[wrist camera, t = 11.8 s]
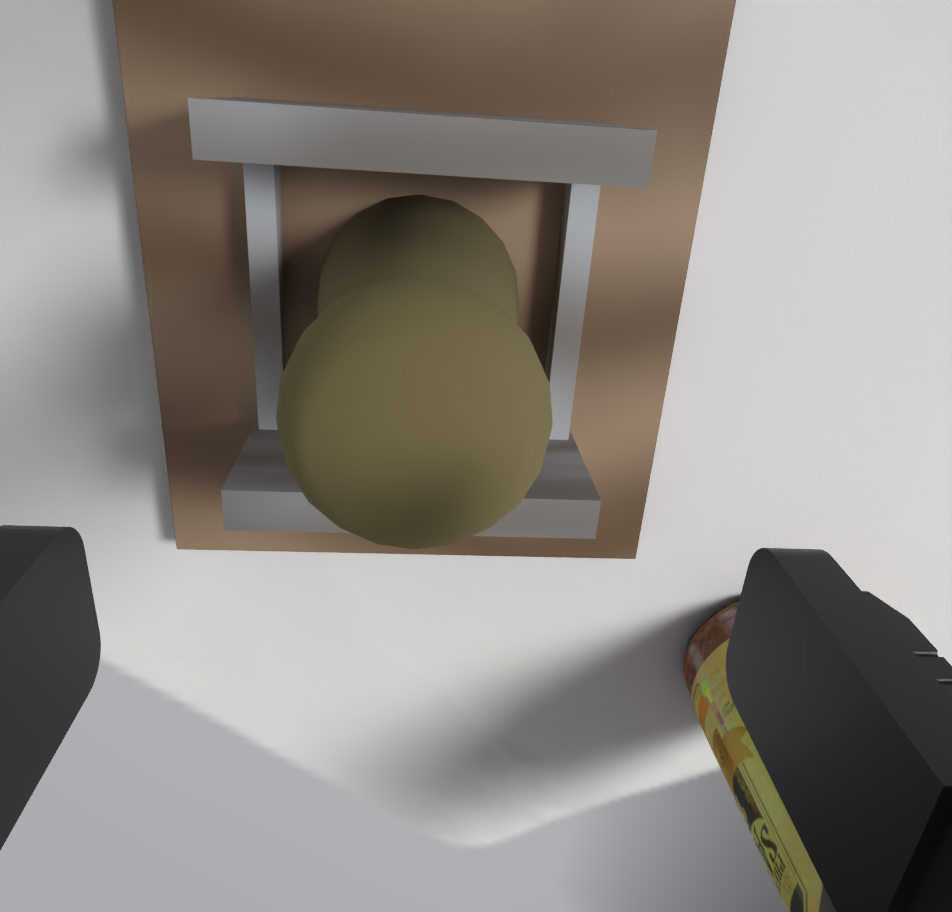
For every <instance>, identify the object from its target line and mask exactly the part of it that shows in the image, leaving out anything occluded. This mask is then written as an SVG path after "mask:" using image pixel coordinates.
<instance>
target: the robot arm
mask: <svg viewBox="0 0 952 912" xmlns="http://www.w3.org/2000/svg"><path fill="white" fill-rule="evenodd" d="M100 649H101V642H100V632H99V626H98V621H97V615H96V610H95V604H94V599H93V593H92V588H91V582H90V577H89V571H88V566H87V560H86V555H85V549H84V545H83V541H82V538H81V536H80V534H79V533H78V532H77V530H76V529H74V528H72V527H49V526H14V525H3V526H0V850H1V848H2V846H3V845H4V843H5V841H6V839H7V838H8V836H9V834H10V832H11V830H12V829H13V827H14V825H15V823H16V822H17V820H18V818H19V816H20V815H21V813H22V811H23V809H24V807H25V806H26V804H27V802H28V800H29V798H30V797H31V795H32V793H33V791H34V790H35V788H36V786H37V784H38V783H39V781H40V779H41V777H42V776H43V774H44V772H45V770H46V768H47V767H48V765H49V763H50V761H51V760H52V758H53V756H54V754H55V753H56V751H57V749H58V747H59V745H60V744H61V742H62V740H63V739H64V737H65V735H66V733H67V731H68V730H69V728H70V726H71V724H72V723H73V721H74V719H75V717H76V716H77V714H78V712H79V710H80V708H81V706H82V705H83V703H84V701H85V700H86V698H87V696H88V694H89V692H90V690H91V688H92V686H93V684H94V681H95V678H96V675H97V671H98V666H99V660H100ZM726 677H727V683H728V688H729V692H730V695H731V698H732V700H733V703H734V705H735V707H736V709H737V711H738V713H739V715H740V717H741V719H742V721H743V723H744V725H745V727H746V729H747V731H748V733H749V735H750V737H751V739H752V741H753V743H754V745H755V747H756V749H757V751H758V753H759V756H760V758H761V760H762V762H763V764H764V766H765V768H766V770H767V772H768V774H769V776H770V778H771V780H772V782H773V784H774V786H775V788H776V790H777V792H778V794H779V796H780V798H781V800H782V802H783V804H784V806H785V808H786V810H787V812H788V814H789V816H790V819H791V821H792V823H793V825H794V827H795V829H796V831H797V833H798V835H799V837H800V839H801V841H802V843H803V845H804V847H805V849H806V851H807V853H808V855H809V857H810V859H811V861H812V863H813V865H814V867H815V869H816V871H817V873H818V875H819V877H820V879H821V881H822V884H823V886H824V888H825V890H826V892H827V894H828V896H829V898H830V900H831V902H832V904H833V906H834V908H835V910H836V912H952V666H951V665H950V664H949V663H948V662H947V661H946V659H945V658H944V657H938V655H937V649H936V648H935V647H934V646H933V645H932V644H931V643H930V642H929V641H928V639H927V638H926V637H925V636H924V635H923V634H922V633H921V632H920V631H919V629H918V628H917V627H916V626H915V625H914V624H913V623H912V622H911V621H910V619H908V618H907V617H905V616H904V615H902V614H901V613H899V612H898V611H896V610H895V609H893V608H892V607H890V606H889V605H887V604H886V603H885V602H883V601H882V600H880V599H879V598H877V597H876V596H874V595H873V594H871V593H870V592H865V591H861V590H860V589H859V588H858V587H857V585H856V584H855V583H854V582H853V581H852V580H851V578H850V577H849V576H848V575H847V574H846V573H845V571H844V570H843V569H842V568H841V567H840V566H839V564H838V563H837V562H836V561H835V560H834V559H833V557H832V556H831V555H830V554H829V553H827V552H826V551H824V550H816V549H780V548H761V549H759V550H757V551H756V552H755V553H754V555H753V556H752V558H751V560H750V563H749V566H748V570H747V573H746V577H745V581H744V585H743V589H742V593H741V597H740V600H739V604H738V608H737V612H736V616H735V620H734V624H733V628H732V631H731V635H730V639H729V643H728V647H727V653H726Z"/></svg>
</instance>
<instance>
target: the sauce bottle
mask: <svg viewBox="0 0 952 912" xmlns="http://www.w3.org/2000/svg"><path fill="white" fill-rule="evenodd" d="M738 604H739V602H735V603H733V604H731V605H729V606H728V607H726V608H725V609H723V610H721V611H720V612H717V613H715V615H714V616H713V617H711V618H710V619H709V620H708V621H707V622H705V623H704V624H703V625H702V626H701V628H700V629H699V630H698V631H697V632H696V633H695V634H694V635H693V637H692V638H691V640H690V642H689V644H688V648H687V650H686V654H685V658H684V674H685V678H686V684H687V687H688V689H689V691H690V694H691V697H692V706H693V709H694V712H695V714H696V716H697V718H698V721H699V723H700V725H701V727H702V729H703V731H704V733H705V735H706V738H707V740H708V742H709V744H710V747H711V749H712V751H713V753H714V755H715V757H716V759H717V761H718V763H719V765H720V768H721V770H722V772H723V774H724V776H725V778H726V780H727V782H728V784H729V787H730V789H731V791H732V793H733V795H734V798H735V800H736V803H737V806H738V807H739V809H740V811H741V813H742V815H743V817H744V819H745V821H746V823H747V825H748V828H749V830H750V832H751V834H752V836H753V838H754V841H755V844H756V846H757V848H758V850H759V853H760V855H761V857H762V859H763V861H764V863H765V865H766V868H767V870H768V873H769V875H770V876H771V878H772V880H773V882H774V884H775V885H776V887H777V889H778V891H779V894H780V896H781V898H782V899H783V902H784V904H785V906H786V908H787V911H788V912H836V910H835V908H834V906H833V904H832V902H831V900H830V898H829V896H828V894H827V892H826V890H825V888H824V886H823V884H822V881H821V879H820V877H819V875H818V873H817V871H816V869H815V867H814V865H813V863H812V861H811V859H810V857H809V855H808V853H807V851H806V849H805V847H804V845H803V843H802V841H801V839H800V837H799V835H798V833H797V831H796V829H795V827H794V825H793V823H792V821H791V819H790V816H789V814H788V812H787V810H786V808H785V806H784V804H783V802H782V800H781V798H780V796H779V794H778V792H777V790H776V788H775V786H774V784H773V782H772V780H771V778H770V776H769V774H768V772H767V770H766V768H765V766H764V764H763V762H762V760H761V758H760V756H759V753H758V751H757V749H756V747H755V745H754V743H753V741H752V739H751V737H750V735H749V733H748V731H747V729H746V727H745V725H744V723H743V721H742V719H741V717H740V715H739V713H738V711H737V709H736V707H735V705H734V703H733V700H732V698H731V695H730V692H729V688H728V683H727V677H726V653H727V647H728V643H729V639H730V635H731V631H732V628H733V624H734V620H735V616H736V612H737V608H738Z"/></svg>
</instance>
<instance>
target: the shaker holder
mask: <svg viewBox="0 0 952 912" xmlns="http://www.w3.org/2000/svg"><path fill="white" fill-rule="evenodd" d="M735 2H736V0H113V8H114V16H115V25H116V33H117V42H118V50H119V59H120V67H121V76H122V85H123V93H124V102H125V110H126V119H127V127H128V136H129V144H130V153H131V161H132V170H133V179H134V187H135V196H136V204H137V213H138V221H139V230H140V238H141V247H142V255H143V264H144V273H145V281H146V290H147V298H148V307H149V315H150V324H151V332H152V341H153V349H154V358H155V367H156V375H157V384H158V392H159V401H160V409H161V418H162V426H163V435H164V443H165V452H166V460H167V469H168V478H169V486H170V495H171V503H172V512H173V520H174V529H175V537H176V546H177V549H198V550H245V551H292V552H339V553H386V554H433V555H480V556H527V557H574V558H621V559H635V558H636V552H637V547H638V541H639V535H640V530H641V524H642V519H643V513H644V508H645V502H646V497H647V491H648V485H649V480H650V474H651V469H652V463H653V458H654V452H655V447H656V441H657V435H658V430H659V424H660V419H661V413H662V408H663V402H664V397H665V391H666V386H667V380H668V374H669V369H670V363H671V358H672V352H673V347H674V341H675V336H676V330H677V324H678V319H679V313H680V308H681V302H682V297H683V291H684V286H685V280H686V274H687V269H688V263H689V258H690V252H691V247H692V241H693V236H694V230H695V224H696V219H697V213H698V208H699V202H700V197H701V191H702V186H703V180H704V175H705V169H706V163H707V158H708V152H709V147H710V141H711V136H712V130H713V125H714V119H715V113H716V108H717V102H718V97H719V91H720V86H721V80H722V75H723V69H724V63H725V58H726V52H727V47H728V41H729V36H730V30H731V25H732V19H733V14H734V8H735ZM418 194H422V195H427V196H432V197H436V198H441V199H446V200H451V201H454V202H456V203H457V204H459V205H461V206H463V207H464V208H466V209H468V210H469V211H471V212H473V213H475V214H476V215H478V216H480V217H482V219H483V220H484V221H485V222H486V223H487V224H488V225H489V226H490V228H491V229H492V230H493V231H494V232H495V233H496V234H497V236H498V237H499V238H500V239H501V240H502V241H503V243H504V245H505V247H506V250H507V252H508V254H509V257H510V259H511V261H512V264H513V266H514V268H515V270H516V278H517V289H518V300H519V306H518V321H517V325H518V326H519V327H520V328H521V329H522V330H523V331H524V333H525V334H526V335H527V336H528V337H529V339H530V341H531V343H532V345H533V347H534V349H535V352H536V354H537V356H538V358H539V361H540V363H541V365H542V367H543V370H544V372H545V374H546V377H547V379H548V381H549V383H550V394H551V407H552V420H553V425H552V429H551V434H550V438H549V442H548V445H547V449H546V453H545V457H544V460H543V464H542V468H541V472H540V474H539V475H538V477H537V478H536V480H535V481H534V483H533V484H532V486H531V487H530V489H529V490H528V492H527V493H526V495H525V496H524V498H523V499H522V501H521V502H520V504H519V505H518V506H516V507H515V508H514V509H513V510H512V511H510V512H509V513H508V514H507V515H505V516H504V517H503V518H502V519H501V520H499V521H498V522H497V523H496V524H494V525H493V526H492V527H491V528H489V529H487V530H485V531H482V532H480V533H478V534H475V535H473V536H471V537H468V538H466V539H464V540H461V541H459V542H457V543H454V544H451V545H445V546H438V547H430V548H422V549H415V550H414V549H407V548H400V547H393V546H386V545H379V544H376V543H373V542H371V541H369V540H367V539H364V538H362V537H360V536H357V535H355V534H353V533H350V532H348V531H346V530H344V529H341V528H339V527H338V526H337V525H335V524H334V523H333V522H332V521H331V520H329V519H328V518H327V517H326V516H325V515H323V514H322V513H321V512H320V511H319V510H317V509H316V508H315V507H314V506H313V505H311V504H310V503H309V502H308V500H307V499H306V497H305V496H304V494H303V493H302V491H301V489H300V488H299V486H298V485H297V483H296V482H295V480H294V479H293V477H292V475H291V474H290V472H289V471H288V469H287V465H286V461H285V457H284V453H283V449H282V445H281V441H280V437H279V433H278V428H277V422H276V413H277V404H278V394H279V384H280V377H281V375H282V373H283V371H284V369H285V367H286V365H287V363H288V361H289V359H290V357H291V355H292V353H293V351H294V349H295V346H296V344H297V342H298V340H299V339H300V337H301V335H302V333H303V332H304V330H305V329H306V328H307V327H308V326H309V325H311V324H312V323H313V322H314V321H315V320H316V319H317V318H318V316H317V293H318V285H319V276H320V268H321V264H322V262H323V260H324V257H325V255H326V253H327V251H328V249H329V247H330V245H331V243H332V241H333V239H334V236H335V235H336V234H337V233H338V232H339V231H340V230H341V229H342V228H343V227H344V226H345V225H346V224H347V223H348V222H349V221H350V220H351V219H352V218H353V217H354V216H355V215H356V214H357V213H358V212H360V211H363V210H365V209H367V208H369V207H371V206H373V205H375V204H377V203H379V202H381V201H383V200H385V199H387V198H394V197H402V196H410V195H418Z"/></svg>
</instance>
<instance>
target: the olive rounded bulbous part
mask: <svg viewBox="0 0 952 912" xmlns="http://www.w3.org/2000/svg"><path fill="white" fill-rule="evenodd" d="M518 306H519V300H518V289H517V278H516V270H515V268H514V266H513V264H512V261H511V259H510V257H509V254H508V252H507V250H506V247H505V245H504V243H503V241H502V240H501V239H500V238H499V237H498V236H497V234H496V233H495V232H494V231H493V230H492V229H491V228H490V226H489V225H488V224H487V223H486V222H485V221H484V220H483V219H482V217H480V216H478V215H476V214H475V213H473V212H471V211H469V210H468V209H466V208H464V207H463V206H461V205H459V204H457V203H456V202H454V201H451V200H446V199H441V198H436V197H432V196H427V195H422V194H418V195H410V196H402V197H394V198H387V199H385V200H383V201H381V202H379V203H377V204H375V205H373V206H371V207H369V208H367V209H365V210H363V211H360V212H358V213H357V214H356V215H355V216H354V217H353V218H352V219H351V220H350V221H349V222H348V223H347V224H346V225H345V226H344V227H343V228H342V229H341V230H340V231H339V232H338V233H337V234H336V235H335V236H334V239H333V241H332V243H331V245H330V247H329V249H328V251H327V253H326V255H325V257H324V260H323V262H322V264H321V268H320V276H319V285H318V293H317V316H318V318H317V319H316V320H315V321H314V322H313V323H312V324H311V325H309V326H308V327H307V328H306V329H305V330H304V332H303V333H302V335H301V337H300V339H299V340H298V342H297V344H296V346H295V349H294V351H293V353H292V355H291V357H290V359H289V361H288V363H287V365H286V367H285V369H284V371H283V373H282V375H281V377H280V384H279V394H278V404H277V413H276V422H277V428H278V433H279V437H280V441H281V445H282V449H283V453H284V457H285V461H286V465H287V469H288V471H289V472H290V474H291V475H292V477H293V479H294V480H295V482H296V483H297V485H298V486H299V488H300V489H301V491H302V493H303V494H304V496H305V497H306V499H307V500H308V502H309V503H310V504H311V505H313V506H314V507H315V508H316V509H317V510H319V511H320V512H321V513H322V514H323V515H325V516H326V517H327V518H328V519H329V520H331V521H332V522H333V523H334V524H335V525H337V526H338V527H339V528H341V529H344V530H346V531H348V532H350V533H353V534H355V535H357V536H360V537H362V538H364V539H367V540H369V541H371V542H373V543H376V544H379V545H386V546H393V547H400V548H407V549H414V550H415V549H422V548H430V547H438V546H445V545H451V544H454V543H457V542H459V541H461V540H464V539H466V538H468V537H471V536H473V535H475V534H478V533H480V532H482V531H485V530H487V529H489V528H491V527H492V526H493V525H494V524H496V523H497V522H498V521H499V520H501V519H502V518H503V517H504V516H505V515H507V514H508V513H509V512H510V511H512V510H513V509H514V508H515V507H516V506H518V505H519V504H520V502H521V501H522V499H523V498H524V496H525V495H526V493H527V492H528V490H529V489H530V487H531V486H532V484H533V483H534V481H535V480H536V478H537V477H538V475H539V474H540V472H541V468H542V464H543V460H544V457H545V453H546V449H547V445H548V442H549V438H550V434H551V429H552V425H553V420H552V407H551V394H550V383H549V381H548V379H547V377H546V374H545V372H544V370H543V367H542V365H541V363H540V361H539V358H538V356H537V354H536V352H535V349H534V347H533V345H532V343H531V341H530V339H529V337H528V336H527V335H526V334H525V333H524V331H523V330H522V329H521V328H520V327H519V326H518V325H517V321H518Z"/></svg>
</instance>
